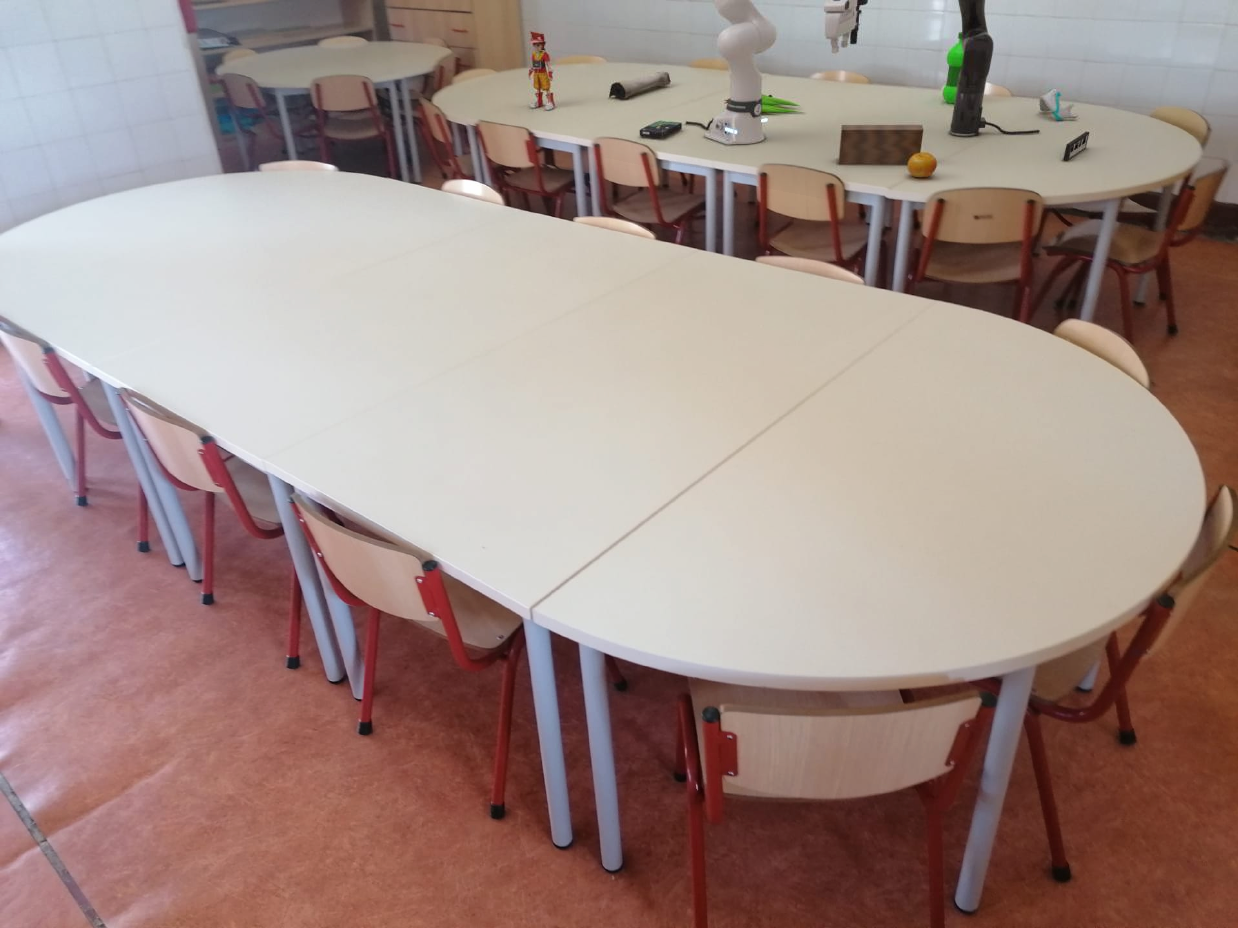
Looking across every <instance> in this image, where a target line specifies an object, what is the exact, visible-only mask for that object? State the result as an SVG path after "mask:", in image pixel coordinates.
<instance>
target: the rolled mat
mask: <svg viewBox="0 0 1238 928" xmlns="http://www.w3.org/2000/svg"><path fill="white" fill-rule="evenodd" d="M671 83H672V81H671V77H670V74H669V72H668V71H658V72H654V73H649V74H645V75H640V76H637V77H633V78H628V79H623V80H620V81H616V82H613V83H612V84H611V85H610V89H609V95H608V97H609V98H611V97H616V99H620V100H622V101H623V100H626V99H627V98H629V97H630V96H632V95H635V94H636V93H638V92H640V91H643V90H644V89H647V88H650V87H655V86H658V87H659V86H661V87H665V86H669V85H670V84H671Z"/></svg>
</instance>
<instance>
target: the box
mask: <svg viewBox="0 0 1238 928" xmlns="http://www.w3.org/2000/svg"><path fill="white" fill-rule="evenodd" d="M840 128H841V129H840V139H839V151H838V165H869V166H870V165H872V166H873V165H875V166H877V165H878V166H882V165H885V166H886V165H887V166H889V165H890V166H908V162H909V159H910V158H911V157H912V156H913V155H914V154H917V153H921V151H922V144H923V137H924V126H923V124H841V127H840Z"/></svg>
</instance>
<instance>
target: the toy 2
mask: <svg viewBox="0 0 1238 928" xmlns="http://www.w3.org/2000/svg"><path fill="white" fill-rule="evenodd" d="M761 97H762V111H761V113H772V114H773V113H776V114H777V113H778V114H779V113H797V114H798V113H804V112H803V111H798V110H794V109H788V108H783V107H780V106H790V107H801V105H799V104H797V103H795V102H791V101H788V100H786V99H785V100H784V99H782V98H777V97H773V95H772V94H769V95H766V94H764V93H763V94H762V93H761Z"/></svg>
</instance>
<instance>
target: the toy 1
mask: <svg viewBox="0 0 1238 928" xmlns="http://www.w3.org/2000/svg"><path fill="white" fill-rule="evenodd" d="M529 33H530V35H531V36H528V37H527V38H528V39H529V40H528V41H527V43H529V44H530V43H531V44H532V48H533V50H534V51H533V52H532V55H531V58H530V59H531V63H530V66H528V74H527V75H528V76H527V77H528V79H529V80H531V75H532V74H533V84H532V85H533V86H532V87H533V88H534V89H535V90H536V92H534V95H535V97H536V100H535V101H533V102H531V105H530V108H531V109H535V108H538V107H542V106H544V101H543V100H544V99H543V95H544V92H546V94H545V97H546V99H547V103H546V104H545V106H544V110H546V111H549V110H553V109H554V107H555V106H556V105H555V99H554V92H551V91H550V90H551V86H552V84H551V82H552V81H553V80H554V77H553V73H554V71H555V70H554V69H552V68H551V63H550V61H551V59H550V58H551V57H550V54H549V53H548V52H547V50H546V48H545V46H546V44H547V41H545V35H544V33H543V32H542V33H539V32H535V31H529Z"/></svg>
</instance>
